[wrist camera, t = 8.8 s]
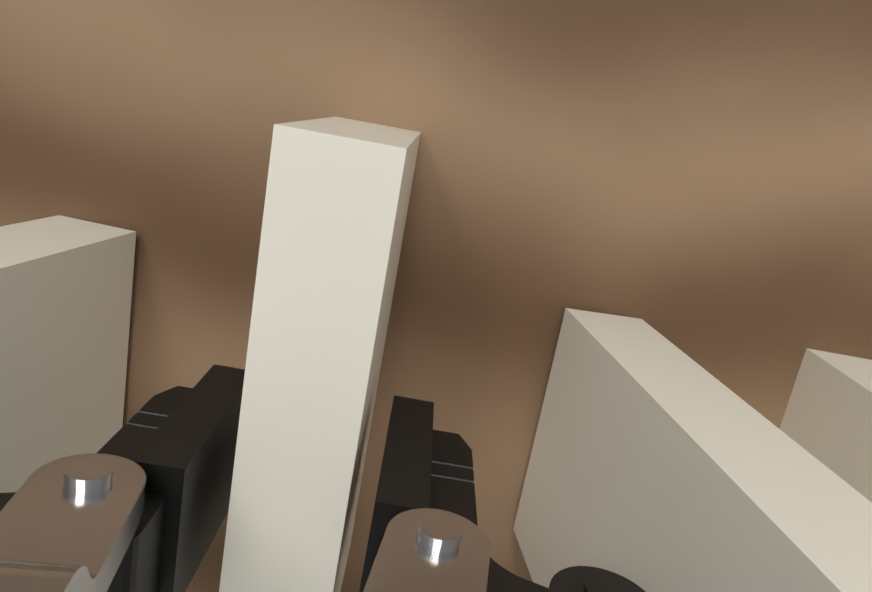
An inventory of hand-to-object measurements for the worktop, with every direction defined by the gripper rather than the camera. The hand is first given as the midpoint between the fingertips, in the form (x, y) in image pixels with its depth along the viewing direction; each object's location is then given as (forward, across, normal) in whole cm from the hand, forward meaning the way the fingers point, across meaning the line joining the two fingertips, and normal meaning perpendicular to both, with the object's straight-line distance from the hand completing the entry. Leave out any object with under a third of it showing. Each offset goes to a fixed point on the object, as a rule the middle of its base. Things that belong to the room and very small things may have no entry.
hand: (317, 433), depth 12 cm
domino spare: (0, 0, -5) cm, 5 cm away
